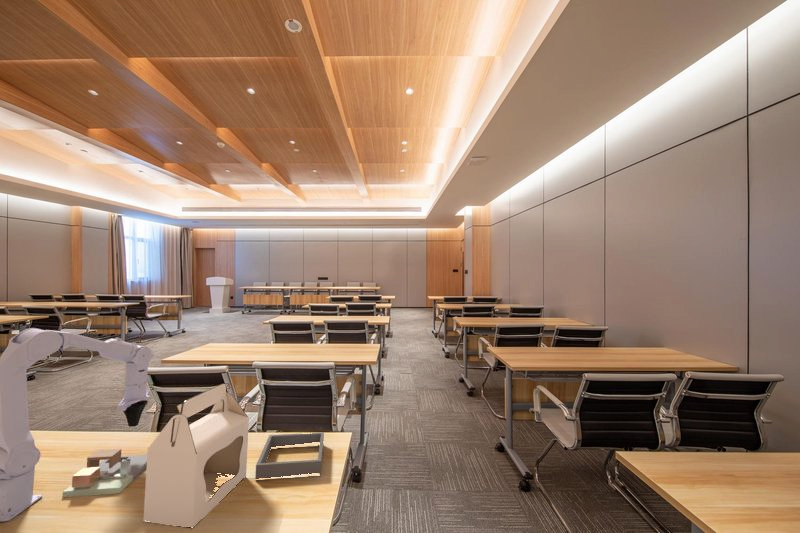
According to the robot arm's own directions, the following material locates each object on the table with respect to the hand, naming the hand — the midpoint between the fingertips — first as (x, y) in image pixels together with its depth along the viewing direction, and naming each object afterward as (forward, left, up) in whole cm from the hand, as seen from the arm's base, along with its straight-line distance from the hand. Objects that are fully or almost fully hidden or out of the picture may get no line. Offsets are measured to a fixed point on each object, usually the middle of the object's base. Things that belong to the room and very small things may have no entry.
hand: (133, 425), depth 110 cm
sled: (-15, -1, -9) cm, 17 cm away
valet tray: (-8, -51, -10) cm, 53 cm away
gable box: (-24, -29, -11) cm, 39 cm away
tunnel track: (-10, -1, -10) cm, 14 cm away
